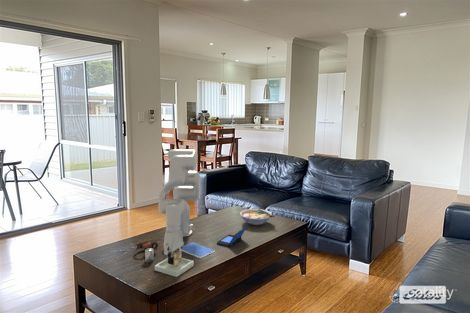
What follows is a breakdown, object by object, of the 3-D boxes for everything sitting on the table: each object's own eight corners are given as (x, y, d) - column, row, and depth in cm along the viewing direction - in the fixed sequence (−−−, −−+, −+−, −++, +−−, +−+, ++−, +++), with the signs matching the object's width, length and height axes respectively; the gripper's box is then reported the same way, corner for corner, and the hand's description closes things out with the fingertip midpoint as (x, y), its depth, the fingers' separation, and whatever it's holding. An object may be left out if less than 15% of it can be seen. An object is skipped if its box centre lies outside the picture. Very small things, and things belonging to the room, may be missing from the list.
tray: (172, 259, 180) (172, 255, 179) (193, 265, 173) (193, 260, 173) (154, 270, 168) (154, 265, 167) (176, 277, 161) (176, 272, 161)
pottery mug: (138, 259, 181) (134, 244, 183) (139, 259, 189) (135, 245, 191) (160, 251, 184) (155, 236, 186) (160, 251, 193) (155, 238, 195)
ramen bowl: (234, 220, 245) (234, 209, 244) (261, 216, 254) (262, 206, 253) (248, 231, 222) (248, 219, 221) (278, 227, 231) (278, 215, 230)
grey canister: (149, 258, 181) (149, 247, 181) (155, 259, 179) (155, 249, 178) (143, 261, 178) (143, 250, 177) (149, 263, 175) (149, 252, 175)
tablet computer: (176, 249, 193) (176, 247, 193) (193, 243, 203) (193, 241, 203) (199, 259, 181) (199, 257, 181) (215, 252, 190) (215, 250, 190)
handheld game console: (228, 236, 214) (229, 222, 213) (247, 240, 208) (247, 226, 206) (215, 244, 201) (215, 230, 199) (235, 249, 194) (235, 234, 193)
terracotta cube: (165, 247, 195) (165, 241, 194) (172, 248, 194) (172, 241, 194) (163, 250, 191) (163, 244, 191) (170, 251, 191) (169, 244, 190)
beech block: (173, 259, 173) (173, 248, 172) (181, 261, 171) (181, 250, 170) (167, 263, 169) (167, 252, 168) (175, 265, 166) (175, 254, 166)
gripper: (178, 221, 176) (179, 254, 179) (156, 231, 162) (157, 266, 164) (190, 223, 173) (190, 257, 175) (168, 234, 158) (169, 270, 161)
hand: (174, 261), depth 170 cm, fingers closed on beech block, 5 cm apart
